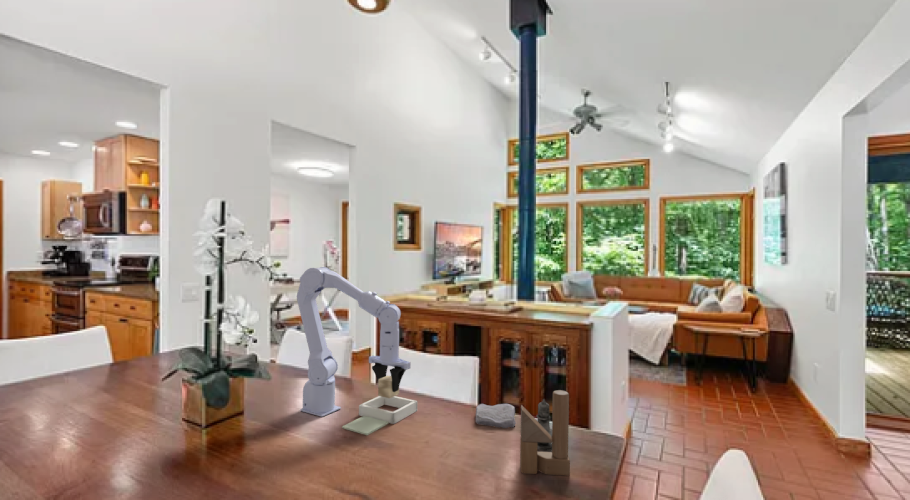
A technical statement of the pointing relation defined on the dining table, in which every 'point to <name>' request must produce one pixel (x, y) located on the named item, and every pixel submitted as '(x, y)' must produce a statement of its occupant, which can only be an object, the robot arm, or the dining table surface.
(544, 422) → the salt shaker
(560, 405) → the wooden block
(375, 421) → the pad
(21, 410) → the dining table surface
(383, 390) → the wood block
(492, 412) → the stone block
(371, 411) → the box
